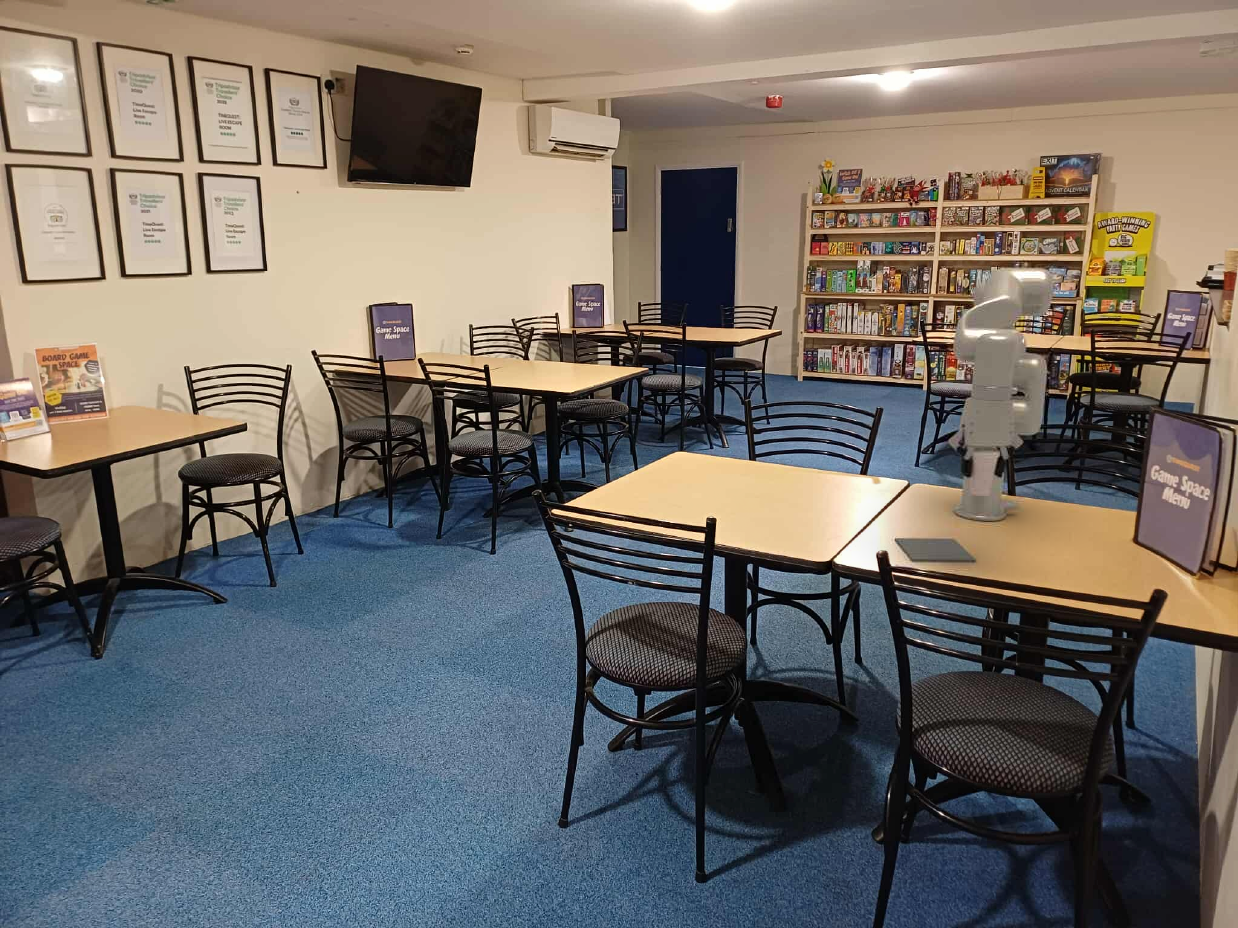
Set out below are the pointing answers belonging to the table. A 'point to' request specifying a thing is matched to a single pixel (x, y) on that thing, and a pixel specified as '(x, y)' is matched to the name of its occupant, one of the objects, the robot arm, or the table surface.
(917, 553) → the coaster mat
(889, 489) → the table surface
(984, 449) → the white drink cup
